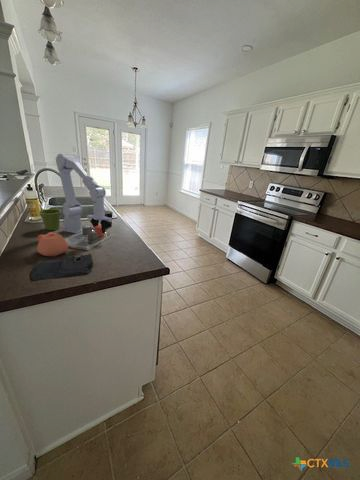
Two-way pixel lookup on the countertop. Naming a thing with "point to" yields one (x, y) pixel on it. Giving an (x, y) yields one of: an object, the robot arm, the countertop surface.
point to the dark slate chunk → (62, 267)
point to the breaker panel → (86, 240)
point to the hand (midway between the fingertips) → (100, 232)
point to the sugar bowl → (51, 244)
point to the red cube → (99, 230)
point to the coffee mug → (109, 214)
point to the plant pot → (50, 218)
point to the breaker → (86, 229)
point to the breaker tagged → (92, 236)
